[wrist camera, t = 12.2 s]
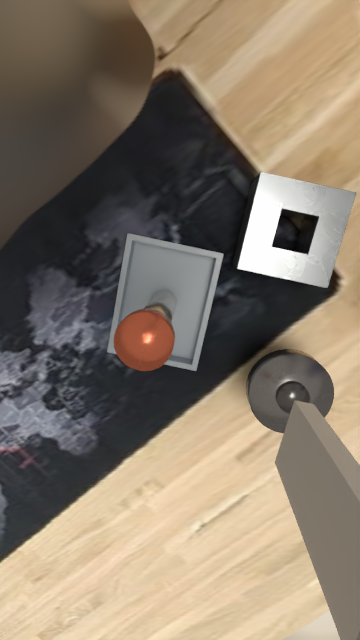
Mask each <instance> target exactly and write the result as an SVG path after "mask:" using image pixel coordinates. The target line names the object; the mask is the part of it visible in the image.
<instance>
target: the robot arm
mask: <svg viewBox="0 0 360 640" xmlns="http://www.w3.org/2000/svg"><path fill="white" fill-rule="evenodd" d="M275 464H276V466H277V469H278V472H279V474H280V477H281V480H282V483H283V485H284V488H285V491H286V493H287V496H288V499H289V501H290V504H291V507H292V509H293V512H294V515H295V518H296V520H297V523H298V526H299V528H300V531H301V534H302V536H303V539H304V542H305V545H306V547H307V550H308V553H309V555H310V558H311V561H312V563H313V566H314V569H315V572H316V574H317V577H318V580H319V582H320V585H321V588H322V590H323V593H324V596H325V599H326V601H327V604H328V607H329V609H330V612H331V615H332V617H333V620H334V623H335V625H336V628H337V631H338V634H339V636H340V639H341V640H360V465H359V464H358V463H357V461H356V460H355V459H354V457H353V456H352V455H351V453H350V452H349V451H348V449H347V448H346V447H345V445H344V444H343V443H342V441H341V440H340V439H339V437H338V436H337V435H336V433H335V432H334V431H333V429H332V428H331V427H330V425H329V424H328V423H327V421H326V420H325V418H324V417H323V416H322V414H321V413H320V412H319V410H318V409H317V408H316V406H315V405H314V404H310V403H306V402H301V401H296V400H294V403H293V406H292V409H291V412H290V416H289V419H288V422H287V425H286V428H285V432H284V435H283V438H282V441H281V445H280V448H279V451H278V454H277V457H276V461H275Z"/></svg>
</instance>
